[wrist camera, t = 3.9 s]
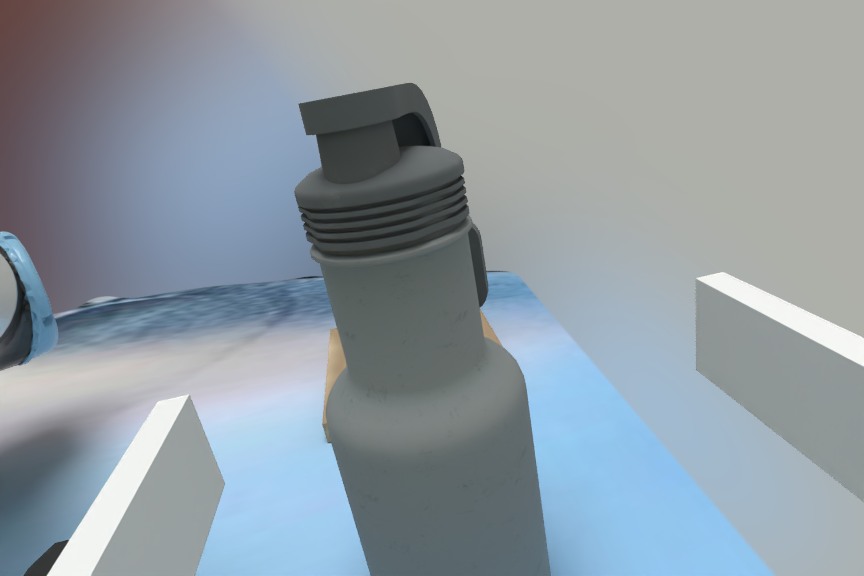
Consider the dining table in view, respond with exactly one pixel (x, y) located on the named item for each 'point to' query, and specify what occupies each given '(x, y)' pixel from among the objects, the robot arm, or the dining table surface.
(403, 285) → the water bottle
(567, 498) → the dining table surface
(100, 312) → the dining table surface
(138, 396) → the dining table surface
